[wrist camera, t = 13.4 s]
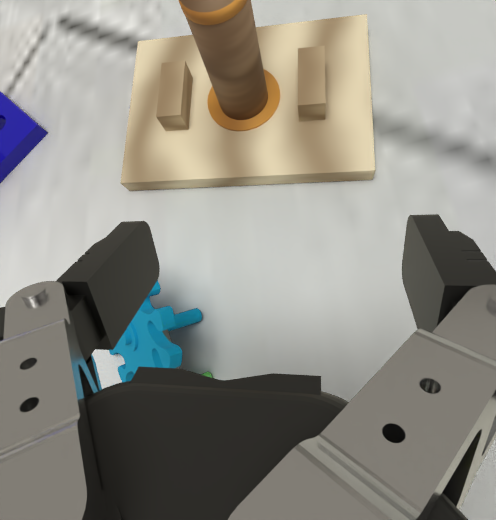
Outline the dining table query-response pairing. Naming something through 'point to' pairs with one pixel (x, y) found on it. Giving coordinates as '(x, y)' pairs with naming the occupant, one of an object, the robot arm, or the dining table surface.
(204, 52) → the pin
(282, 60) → the plate
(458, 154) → the dining table surface
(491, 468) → the dining table surface
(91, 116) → the dining table surface
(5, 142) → the mounting bracket
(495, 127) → the dining table surface
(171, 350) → the gear
